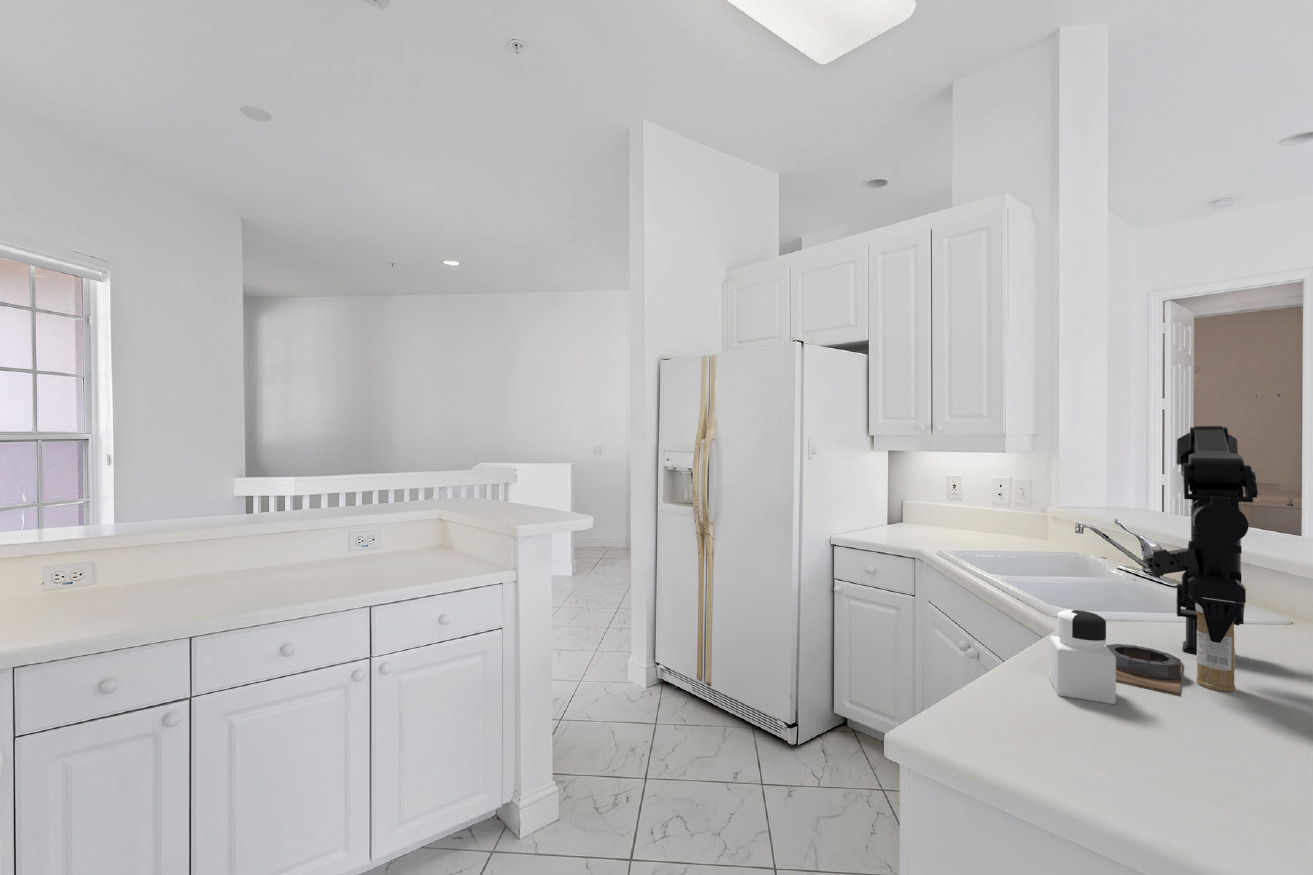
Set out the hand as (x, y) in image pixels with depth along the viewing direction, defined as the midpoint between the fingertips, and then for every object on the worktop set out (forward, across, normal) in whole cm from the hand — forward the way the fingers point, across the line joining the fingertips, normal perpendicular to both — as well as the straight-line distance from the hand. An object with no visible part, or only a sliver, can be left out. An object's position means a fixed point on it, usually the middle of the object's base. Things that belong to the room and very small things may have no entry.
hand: (1215, 635), depth 93 cm
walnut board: (+8, 0, -9) cm, 12 cm away
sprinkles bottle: (+8, 0, 0) cm, 8 cm away
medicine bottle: (+8, +18, -15) cm, 25 cm away
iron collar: (+8, 0, -9) cm, 12 cm away
